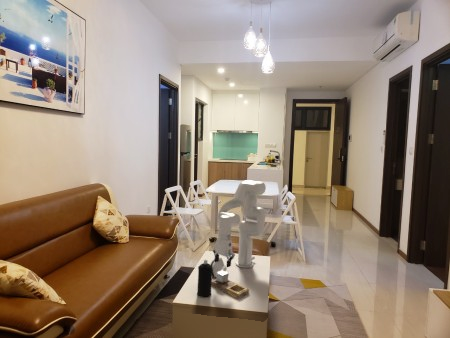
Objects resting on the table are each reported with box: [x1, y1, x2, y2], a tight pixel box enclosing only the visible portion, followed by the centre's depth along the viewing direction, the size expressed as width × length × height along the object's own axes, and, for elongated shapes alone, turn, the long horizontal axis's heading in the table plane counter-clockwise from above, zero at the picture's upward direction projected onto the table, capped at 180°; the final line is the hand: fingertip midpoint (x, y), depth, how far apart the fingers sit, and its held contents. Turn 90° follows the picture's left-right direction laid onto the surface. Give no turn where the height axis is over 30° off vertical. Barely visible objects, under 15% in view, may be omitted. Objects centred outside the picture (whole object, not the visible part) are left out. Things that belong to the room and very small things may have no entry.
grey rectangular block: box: [215, 271, 229, 285], centre depth 186 cm, size 5×5×8 cm
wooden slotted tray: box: [211, 278, 250, 300], centre depth 182 cm, size 9×22×3 cm, turn 48°
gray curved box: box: [209, 257, 228, 278], centre depth 203 cm, size 17×5×10 cm, turn 160°
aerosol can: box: [196, 259, 213, 298], centre depth 174 cm, size 8×8×20 cm
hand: (222, 264), depth 184 cm, fingers open, 9 cm apart
